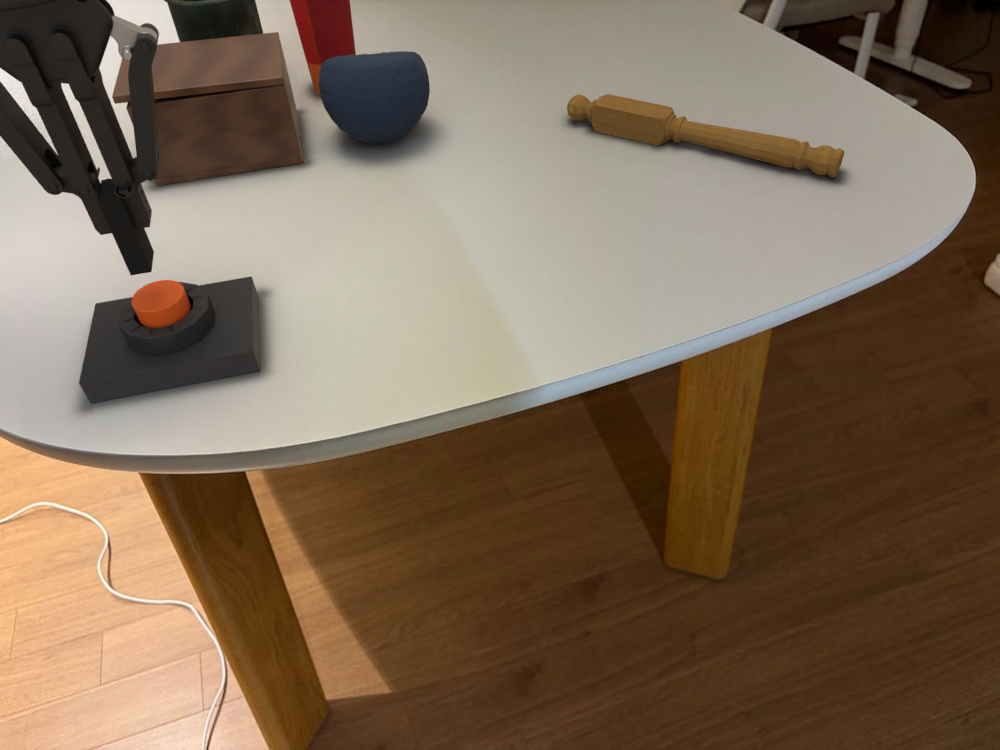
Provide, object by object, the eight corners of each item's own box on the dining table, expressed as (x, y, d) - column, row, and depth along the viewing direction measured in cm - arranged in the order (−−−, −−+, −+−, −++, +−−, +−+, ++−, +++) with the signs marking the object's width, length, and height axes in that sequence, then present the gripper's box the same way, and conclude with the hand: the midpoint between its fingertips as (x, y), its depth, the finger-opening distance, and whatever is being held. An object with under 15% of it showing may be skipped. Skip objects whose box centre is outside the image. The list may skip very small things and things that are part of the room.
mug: (203, 111, 98) (171, 9, 90) (178, 70, 107) (146, -26, 99) (289, 89, 101) (265, -11, 93) (256, 51, 111) (232, -43, 102)
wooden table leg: (840, 156, 78) (562, 98, 89) (832, 184, 80) (562, 124, 91) (847, 142, 79) (575, 87, 91) (839, 170, 82) (574, 112, 93)
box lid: (114, 104, 79) (111, 96, 78) (127, 54, 88) (124, 47, 87) (284, 84, 81) (283, 77, 81) (279, 38, 90) (278, 31, 90)
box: (156, 186, 85) (126, 107, 79) (164, 132, 94) (137, 58, 88) (303, 163, 87) (284, 85, 81) (297, 113, 96) (280, 39, 90)
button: (137, 332, 62) (128, 315, 61) (141, 302, 65) (133, 284, 64) (189, 323, 63) (182, 306, 61) (191, 293, 65) (185, 275, 64)
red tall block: (375, 75, 103) (357, -42, 93) (354, 102, 98) (332, -19, 88) (319, 72, 105) (295, -44, 95) (295, 98, 99) (267, -21, 89)
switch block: (90, 403, 62) (68, 365, 59) (105, 323, 69) (86, 286, 66) (260, 371, 64) (247, 333, 61) (258, 296, 71) (246, 258, 68)
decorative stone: (449, 147, 89) (441, 57, 82) (345, 172, 86) (327, 81, 79) (416, 104, 96) (406, 19, 90) (319, 126, 94) (301, 40, 87)
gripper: (-159, -50, 41) (43, 309, 57) (108, -78, 42) (230, 277, 59) (-114, -90, 46) (59, 249, 62) (122, -113, 48) (230, 222, 64)
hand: (142, 263), depth 61 cm, fingers closed
